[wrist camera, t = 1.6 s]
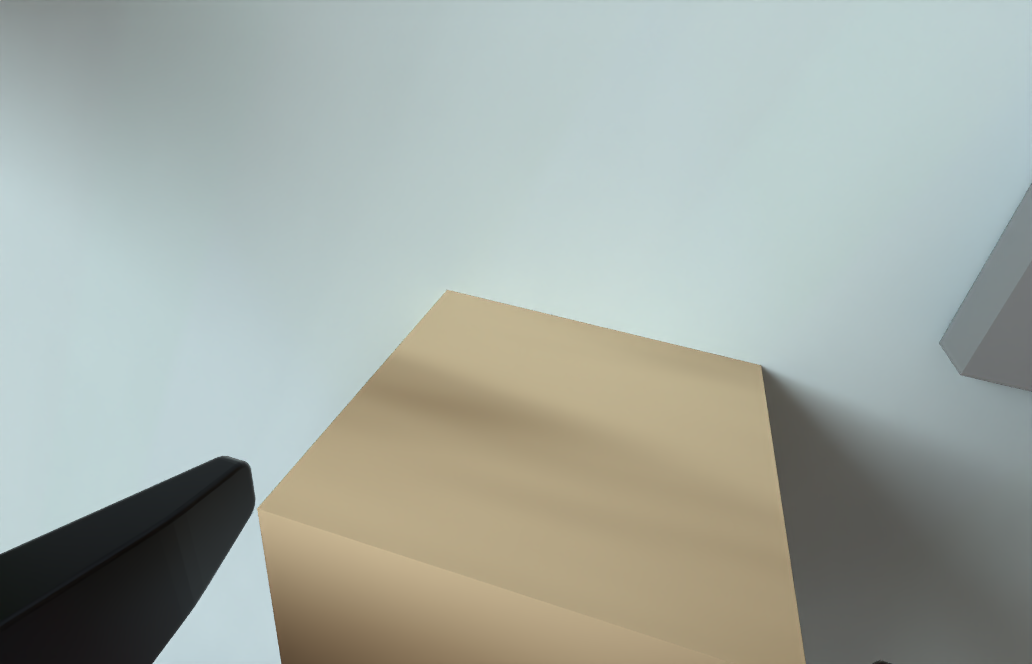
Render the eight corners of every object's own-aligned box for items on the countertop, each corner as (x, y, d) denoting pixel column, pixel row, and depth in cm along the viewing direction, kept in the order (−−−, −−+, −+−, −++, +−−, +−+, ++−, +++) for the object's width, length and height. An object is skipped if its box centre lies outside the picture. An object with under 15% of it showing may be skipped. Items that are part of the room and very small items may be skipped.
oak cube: (675, 574, 12) (658, 904, 7) (434, 500, 12) (296, 760, 8) (760, 362, 9) (809, 687, 5) (448, 288, 10) (258, 508, 6)
